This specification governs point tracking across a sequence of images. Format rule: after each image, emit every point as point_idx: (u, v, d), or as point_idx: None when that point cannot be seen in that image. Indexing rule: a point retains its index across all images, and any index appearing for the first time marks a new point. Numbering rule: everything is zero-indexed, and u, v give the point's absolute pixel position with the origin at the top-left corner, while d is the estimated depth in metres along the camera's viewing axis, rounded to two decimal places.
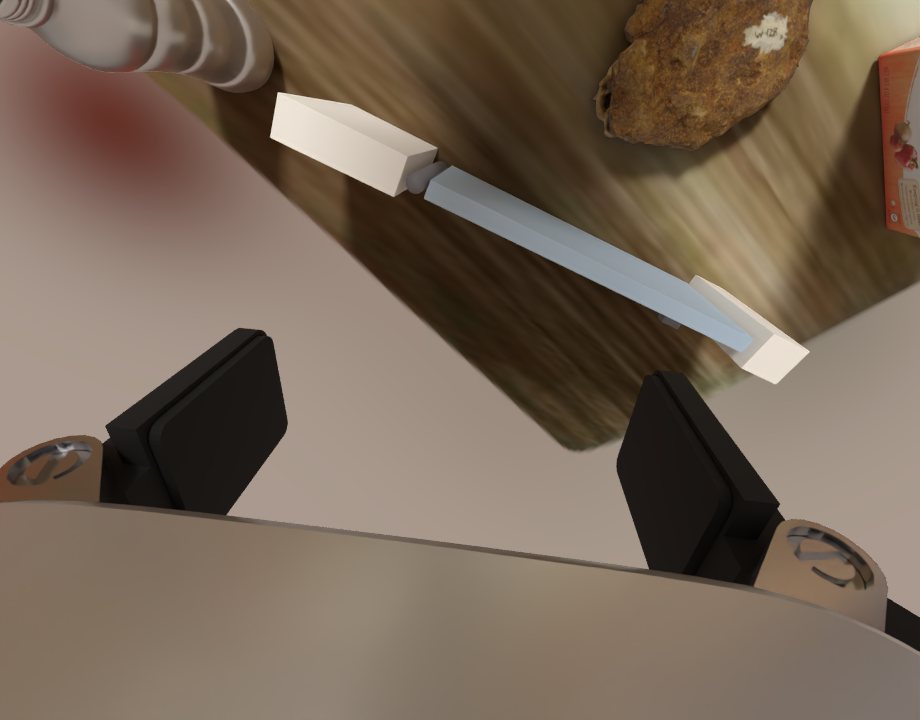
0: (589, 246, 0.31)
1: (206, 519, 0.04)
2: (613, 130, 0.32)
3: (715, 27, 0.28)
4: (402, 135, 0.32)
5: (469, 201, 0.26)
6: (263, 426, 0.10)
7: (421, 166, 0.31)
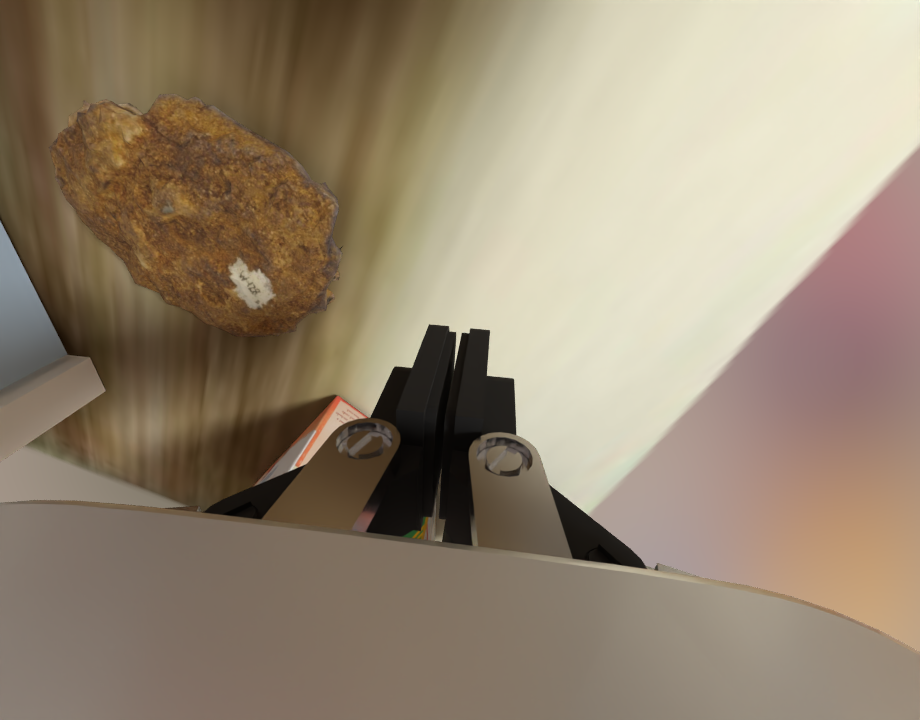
0: None
1: (206, 519, 0.04)
2: (53, 156, 0.20)
3: (209, 219, 0.20)
4: None
5: None
6: None
7: None
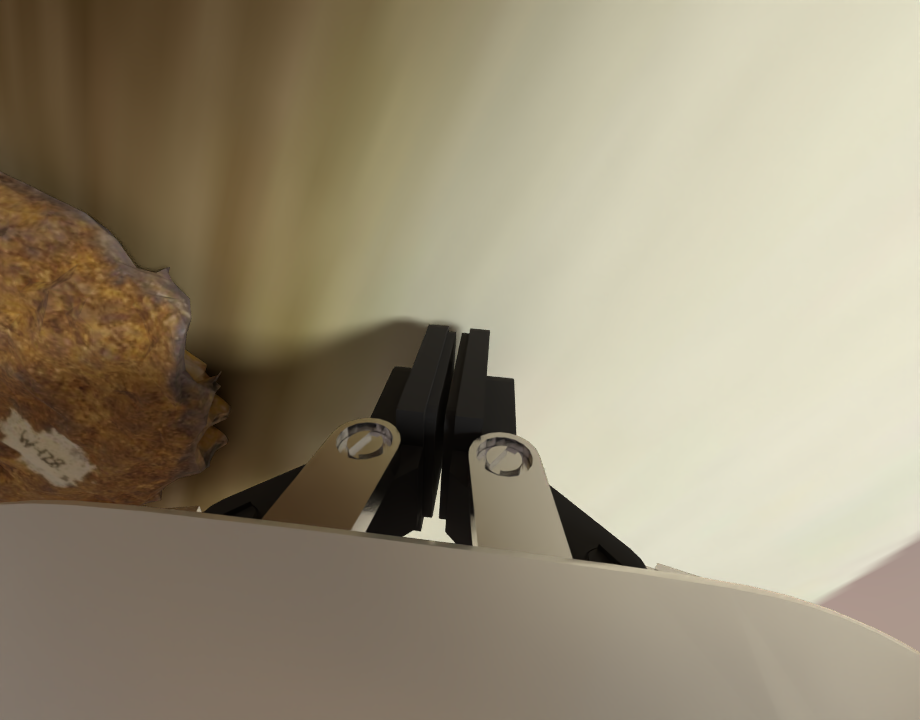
0: None
1: (206, 519, 0.04)
2: None
3: None
4: None
5: None
6: None
7: None
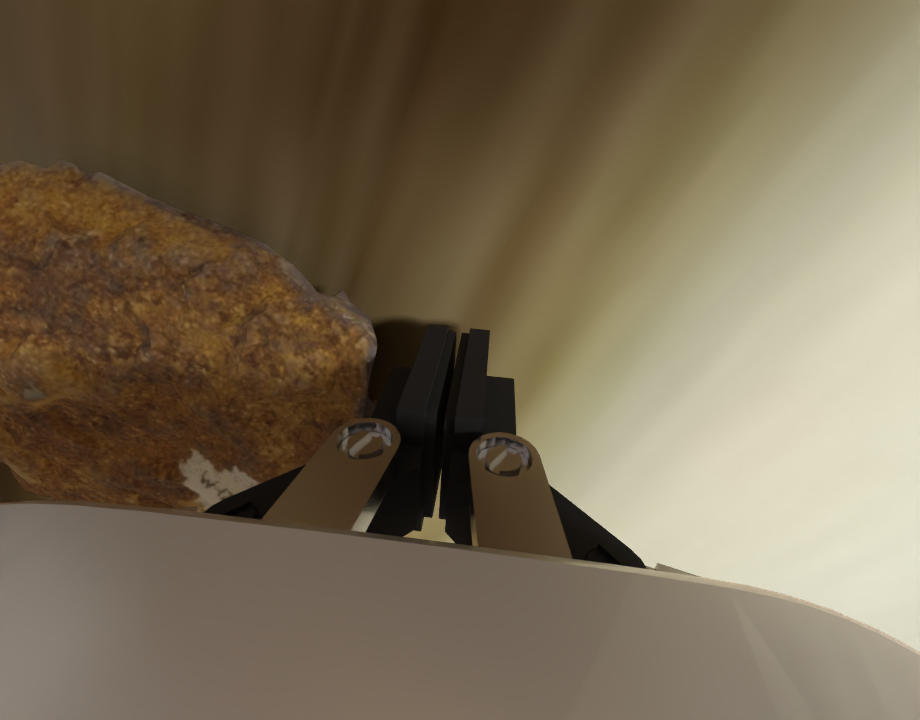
0: None
1: (206, 519, 0.04)
2: None
3: (121, 399, 0.10)
4: None
5: None
6: None
7: None
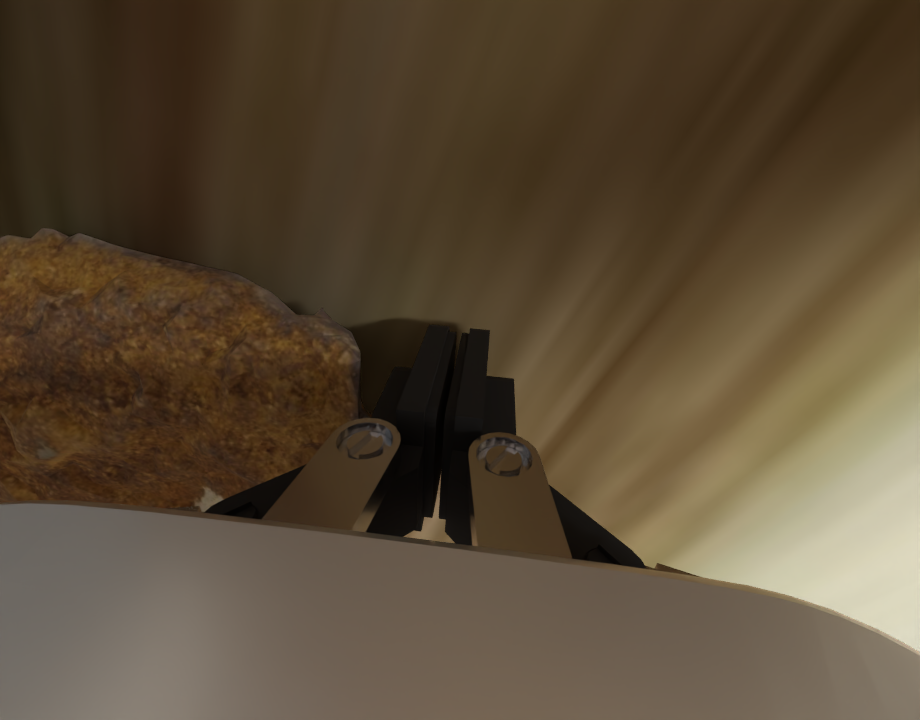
0: None
1: (206, 519, 0.04)
2: None
3: (127, 446, 0.10)
4: None
5: None
6: None
7: None
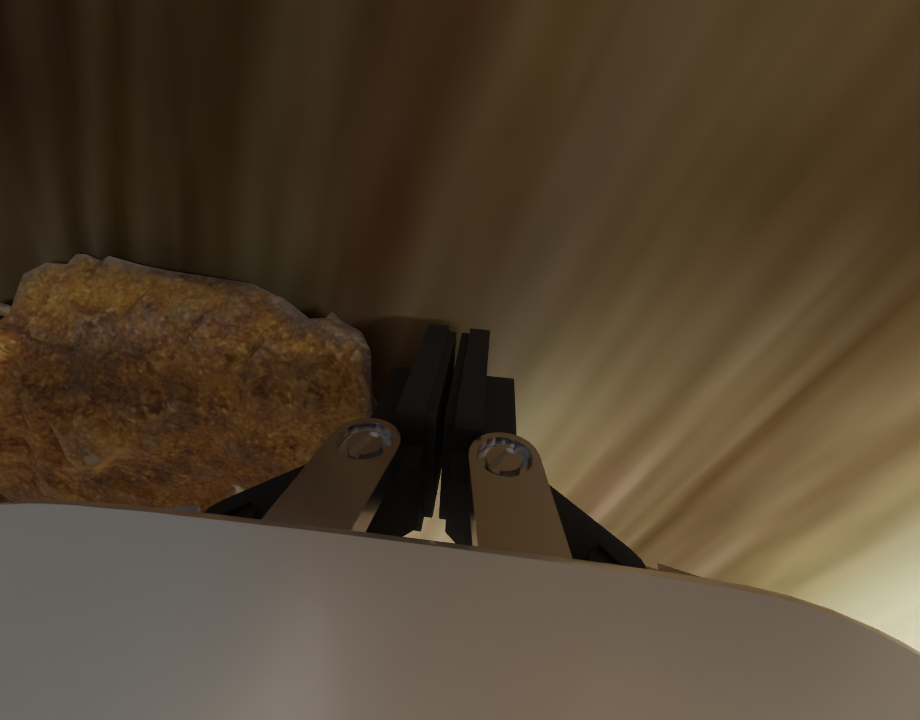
0: None
1: (206, 519, 0.04)
2: None
3: (163, 450, 0.11)
4: None
5: None
6: None
7: None
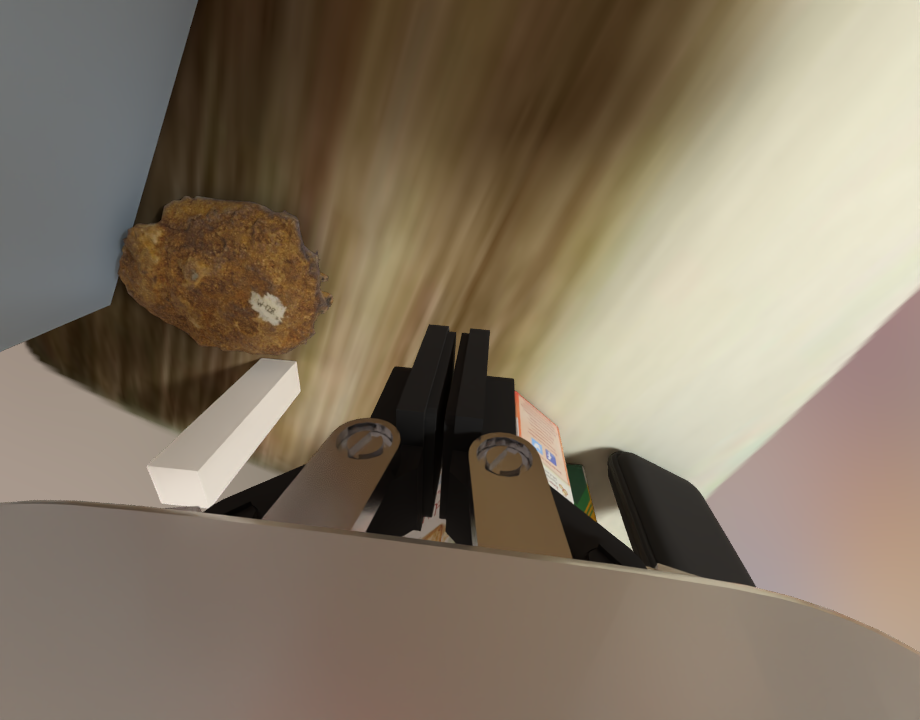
0: (44, 176, 0.21)
1: (206, 519, 0.04)
2: (122, 278, 0.29)
3: (222, 271, 0.28)
4: None
5: None
6: None
7: None
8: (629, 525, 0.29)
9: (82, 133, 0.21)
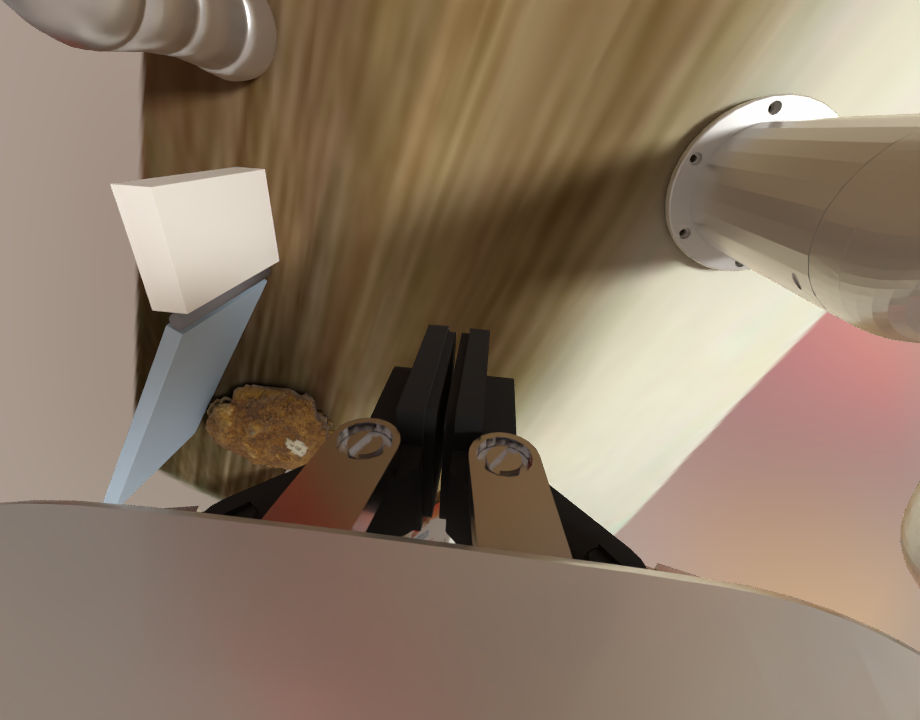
0: (181, 405, 0.39)
1: (206, 519, 0.04)
2: (207, 429, 0.47)
3: (269, 429, 0.46)
4: (253, 244, 0.35)
5: (170, 359, 0.30)
6: None
7: None
8: None
9: (200, 379, 0.39)
